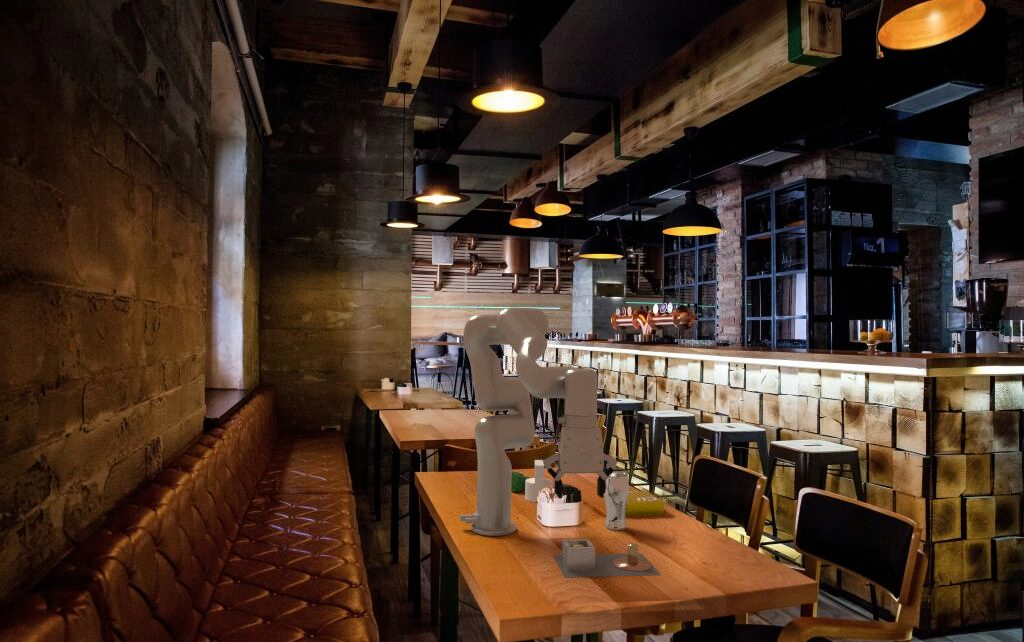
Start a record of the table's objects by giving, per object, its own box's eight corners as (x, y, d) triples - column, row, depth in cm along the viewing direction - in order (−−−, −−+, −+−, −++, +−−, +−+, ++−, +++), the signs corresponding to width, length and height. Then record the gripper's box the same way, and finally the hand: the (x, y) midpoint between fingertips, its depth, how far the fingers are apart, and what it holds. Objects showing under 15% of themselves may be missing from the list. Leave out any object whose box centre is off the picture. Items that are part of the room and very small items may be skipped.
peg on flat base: (619, 571, 145) (619, 551, 145) (608, 557, 154) (608, 538, 154) (657, 570, 146) (658, 550, 146) (645, 556, 155) (645, 538, 155)
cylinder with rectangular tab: (525, 495, 217) (525, 459, 218) (551, 495, 217) (552, 460, 217) (525, 502, 208) (525, 465, 209) (552, 502, 208) (553, 465, 208)
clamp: (524, 503, 223) (535, 482, 221) (509, 501, 220) (520, 479, 218) (514, 483, 233) (524, 462, 231) (499, 480, 231) (509, 459, 229)
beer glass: (627, 531, 179) (628, 477, 179) (602, 529, 180) (603, 476, 181) (628, 524, 186) (629, 472, 186) (604, 522, 187) (604, 471, 187)
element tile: (647, 503, 211) (647, 489, 211) (666, 516, 196) (666, 501, 196) (603, 505, 208) (603, 490, 208) (619, 518, 193) (619, 502, 194)
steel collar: (567, 571, 145) (567, 548, 145) (561, 560, 151) (562, 539, 151) (594, 570, 145) (595, 548, 145) (588, 560, 152) (588, 539, 152)
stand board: (564, 584, 141) (565, 556, 141) (553, 561, 154) (553, 536, 155) (661, 581, 143) (662, 554, 143) (641, 559, 157) (641, 534, 157)
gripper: (546, 424, 144) (545, 501, 143) (621, 424, 146) (621, 500, 145) (541, 420, 151) (540, 493, 151) (612, 420, 153) (611, 492, 153)
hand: (579, 496), depth 148 cm, fingers open, 9 cm apart
